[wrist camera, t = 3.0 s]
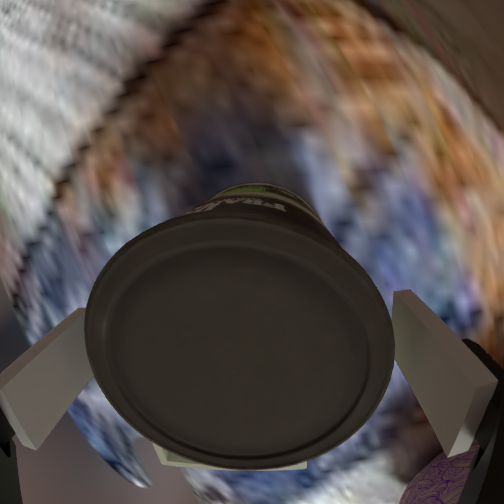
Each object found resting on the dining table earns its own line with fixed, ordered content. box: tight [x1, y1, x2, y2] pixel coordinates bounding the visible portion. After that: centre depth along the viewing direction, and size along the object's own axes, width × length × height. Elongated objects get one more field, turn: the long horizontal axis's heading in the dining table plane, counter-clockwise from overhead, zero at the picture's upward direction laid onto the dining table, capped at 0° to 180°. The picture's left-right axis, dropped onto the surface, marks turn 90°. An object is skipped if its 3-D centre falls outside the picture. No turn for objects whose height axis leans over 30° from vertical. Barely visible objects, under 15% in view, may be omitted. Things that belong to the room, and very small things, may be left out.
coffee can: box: [84, 183, 395, 471], centre depth 16 cm, size 10×10×14 cm
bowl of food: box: [399, 439, 480, 504], centre depth 23 cm, size 20×20×12 cm
